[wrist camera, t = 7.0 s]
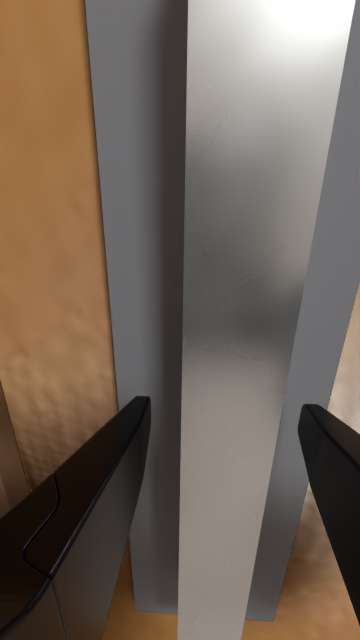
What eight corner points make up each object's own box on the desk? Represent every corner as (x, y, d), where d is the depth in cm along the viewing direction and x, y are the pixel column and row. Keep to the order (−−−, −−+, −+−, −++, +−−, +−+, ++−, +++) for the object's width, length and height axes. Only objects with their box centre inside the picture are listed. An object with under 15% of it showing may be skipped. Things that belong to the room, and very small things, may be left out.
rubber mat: (270, 606, 16) (273, 621, 15) (137, 596, 16) (135, 610, 16) (501, -364, 5) (540, -436, 4) (67, -333, 5) (52, -396, 5)
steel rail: (232, 583, 14) (238, 656, 12) (180, 579, 14) (177, 650, 12) (327, -116, 6) (412, -317, 3) (195, -111, 6) (193, -304, 3)
